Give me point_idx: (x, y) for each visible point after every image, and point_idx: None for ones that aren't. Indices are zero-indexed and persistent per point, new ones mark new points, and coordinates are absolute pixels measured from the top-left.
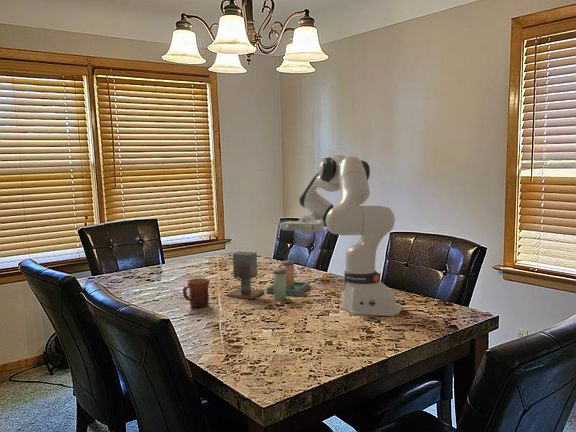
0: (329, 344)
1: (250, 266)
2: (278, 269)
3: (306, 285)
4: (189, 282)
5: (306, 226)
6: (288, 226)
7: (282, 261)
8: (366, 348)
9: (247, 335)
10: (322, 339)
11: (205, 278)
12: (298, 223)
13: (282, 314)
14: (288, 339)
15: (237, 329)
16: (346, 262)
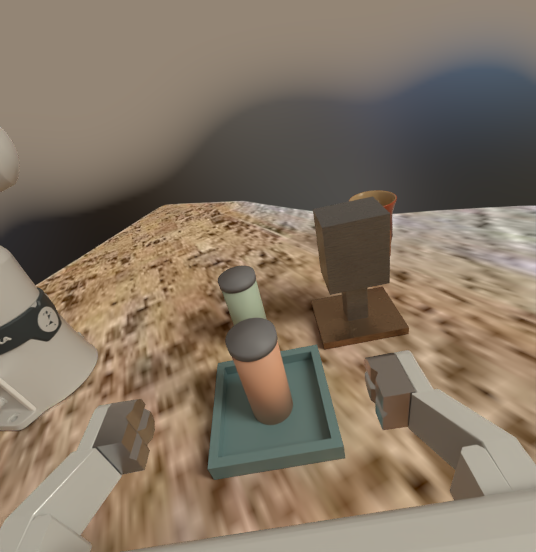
0: (124, 259)
1: (317, 241)
2: (242, 278)
3: (211, 439)
4: (389, 197)
5: (104, 406)
6: (366, 363)
7: (273, 327)
8: (83, 269)
9: (223, 234)
10: (133, 262)
11: None
12: (278, 528)
13: (208, 284)
14: (172, 247)
15: (244, 236)
16: (24, 271)
